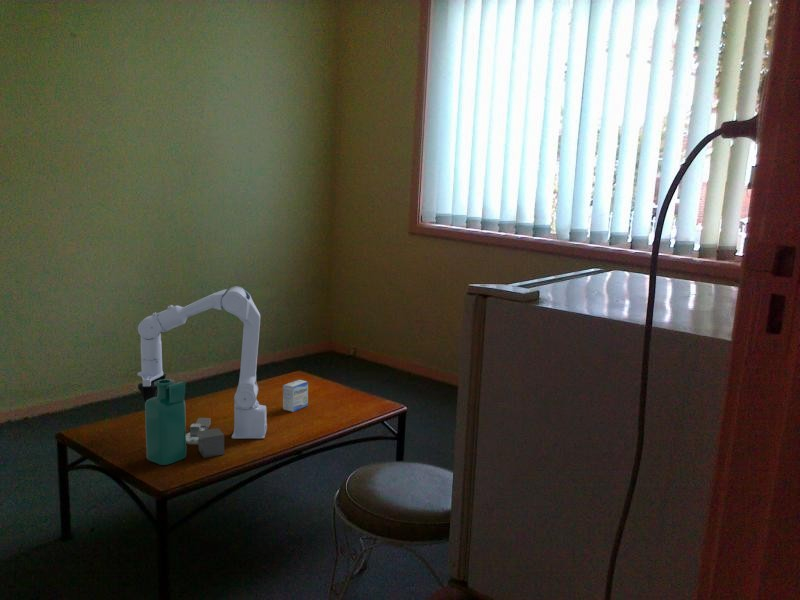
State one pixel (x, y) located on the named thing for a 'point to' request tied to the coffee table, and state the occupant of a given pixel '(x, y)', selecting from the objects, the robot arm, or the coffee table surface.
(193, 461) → the coffee table surface
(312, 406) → the coffee table surface
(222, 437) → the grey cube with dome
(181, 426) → the teal green bottle
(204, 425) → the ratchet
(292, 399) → the medicine box
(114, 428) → the coffee table surface
